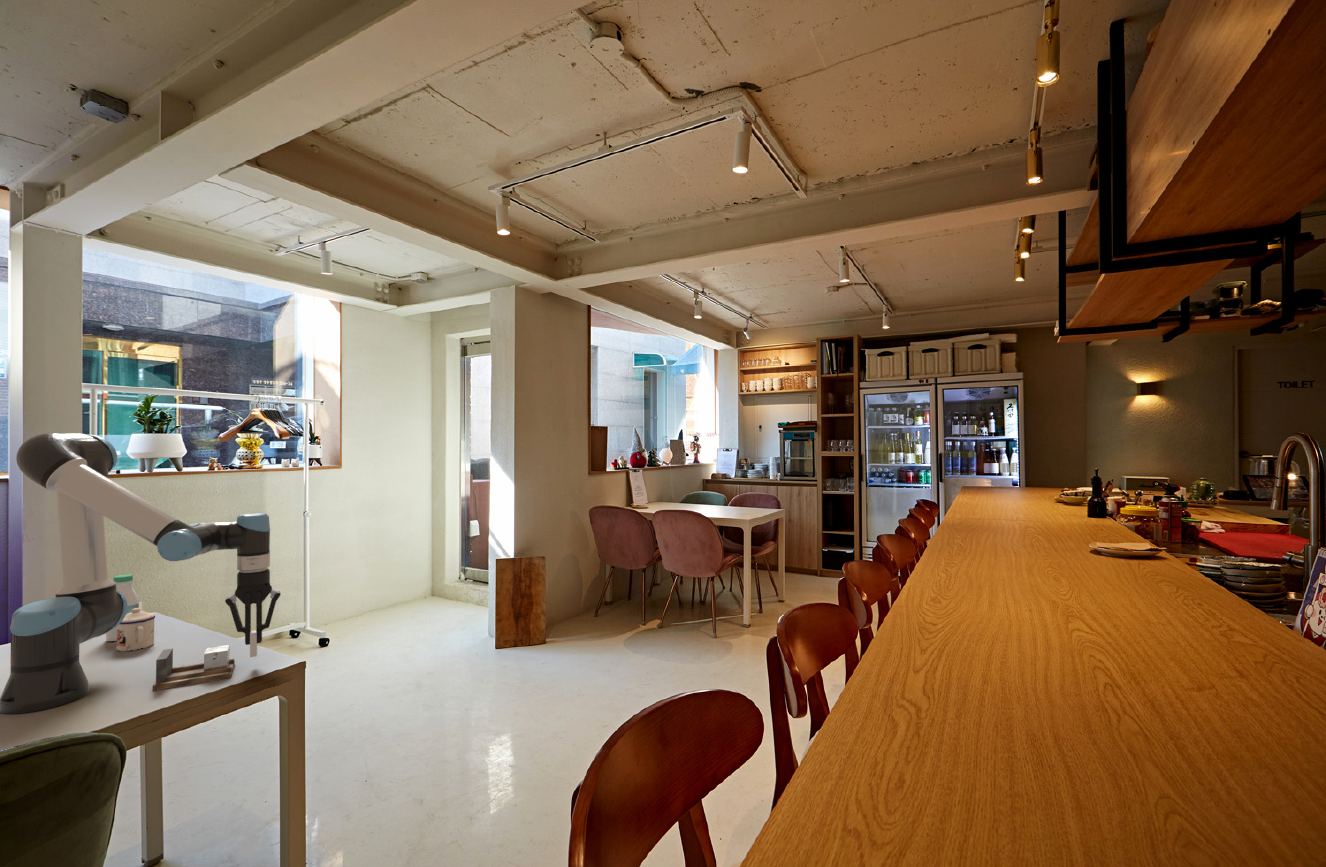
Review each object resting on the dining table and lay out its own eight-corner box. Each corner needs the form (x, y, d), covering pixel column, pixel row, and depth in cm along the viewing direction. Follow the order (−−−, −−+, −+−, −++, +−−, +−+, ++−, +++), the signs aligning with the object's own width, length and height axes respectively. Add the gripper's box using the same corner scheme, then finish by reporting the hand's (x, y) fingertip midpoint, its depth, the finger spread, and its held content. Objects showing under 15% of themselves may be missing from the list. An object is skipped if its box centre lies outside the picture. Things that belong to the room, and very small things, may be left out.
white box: (202, 677, 156) (202, 657, 156) (206, 666, 163) (206, 648, 163) (225, 673, 158) (226, 654, 158) (229, 663, 166) (229, 644, 166)
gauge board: (152, 690, 151) (152, 661, 151) (161, 676, 160) (161, 648, 160) (230, 677, 159) (231, 650, 159) (234, 664, 169) (235, 638, 169)
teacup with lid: (112, 647, 183) (113, 609, 183) (151, 640, 190) (151, 603, 190) (120, 656, 176) (121, 616, 176) (160, 648, 183) (161, 609, 183)
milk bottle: (109, 644, 186) (110, 579, 187) (103, 639, 191) (104, 576, 192) (141, 637, 193) (142, 575, 193) (134, 633, 197) (135, 572, 198)
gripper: (223, 575, 160) (222, 664, 160) (281, 569, 167) (281, 654, 166) (226, 570, 166) (226, 655, 166) (281, 564, 173) (281, 647, 173)
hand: (253, 655), depth 166 cm, fingers closed
